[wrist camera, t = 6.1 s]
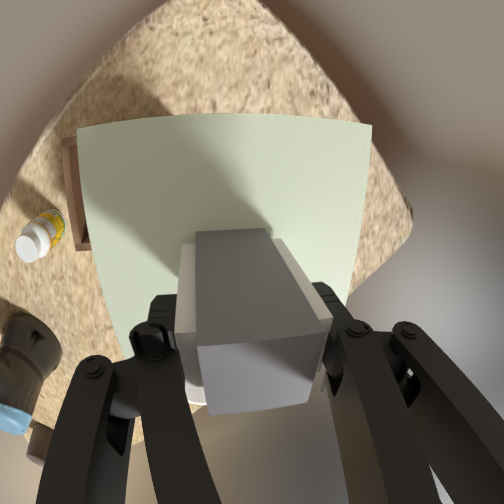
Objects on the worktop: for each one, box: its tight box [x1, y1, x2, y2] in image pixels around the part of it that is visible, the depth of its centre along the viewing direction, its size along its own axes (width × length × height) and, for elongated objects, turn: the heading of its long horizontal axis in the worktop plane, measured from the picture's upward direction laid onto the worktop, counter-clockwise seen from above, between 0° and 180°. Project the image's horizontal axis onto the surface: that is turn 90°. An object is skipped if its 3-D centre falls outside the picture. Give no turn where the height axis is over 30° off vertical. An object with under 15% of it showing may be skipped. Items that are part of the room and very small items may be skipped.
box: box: [61, 136, 92, 251], centre depth 33 cm, size 14×14×9 cm
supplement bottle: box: [15, 209, 66, 263], centre depth 32 cm, size 5×5×10 cm
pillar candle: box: [26, 423, 54, 467], centre depth 53 cm, size 10×10×15 cm
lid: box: [76, 113, 372, 415], centre depth 12 cm, size 15×15×10 cm
